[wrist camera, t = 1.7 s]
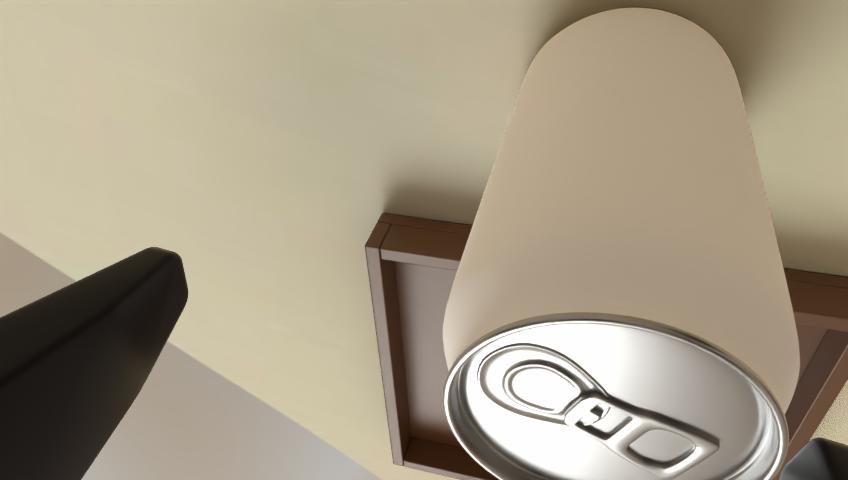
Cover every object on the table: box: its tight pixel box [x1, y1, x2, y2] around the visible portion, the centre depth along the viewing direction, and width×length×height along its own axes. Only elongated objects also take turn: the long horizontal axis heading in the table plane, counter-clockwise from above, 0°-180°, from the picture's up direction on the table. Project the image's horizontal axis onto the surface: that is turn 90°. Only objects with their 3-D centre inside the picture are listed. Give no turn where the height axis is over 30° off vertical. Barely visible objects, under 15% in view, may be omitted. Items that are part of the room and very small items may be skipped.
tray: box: [365, 213, 848, 480], centre depth 27 cm, size 17×15×2 cm
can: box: [443, 8, 800, 480], centre depth 15 cm, size 6×6×12 cm
